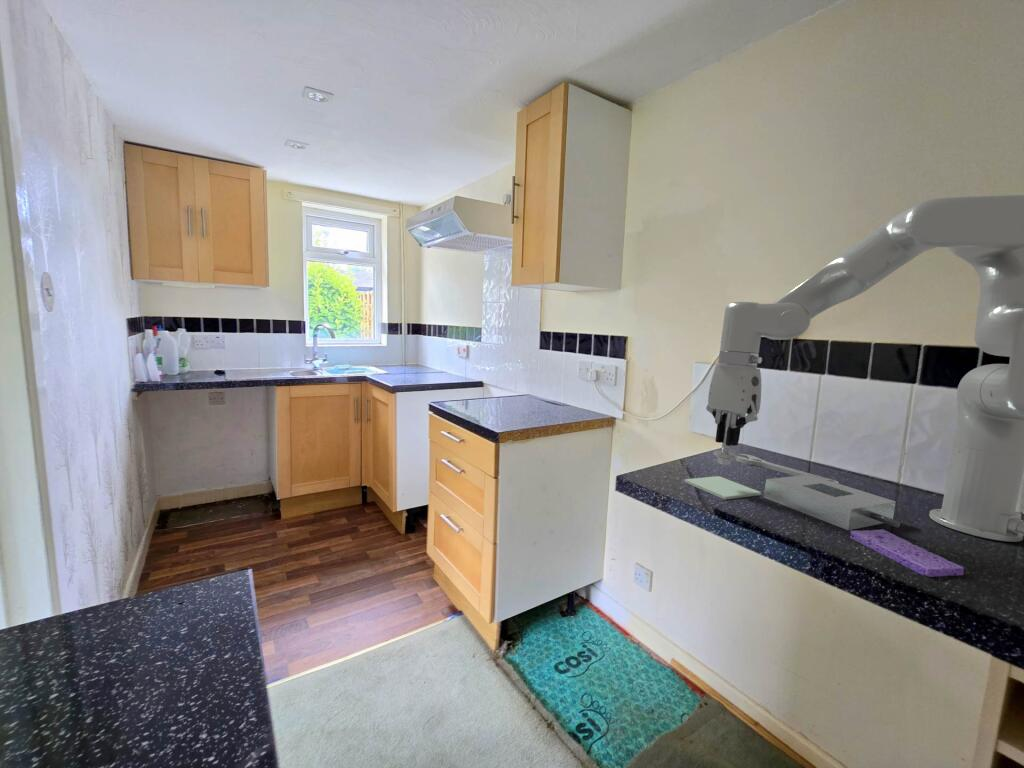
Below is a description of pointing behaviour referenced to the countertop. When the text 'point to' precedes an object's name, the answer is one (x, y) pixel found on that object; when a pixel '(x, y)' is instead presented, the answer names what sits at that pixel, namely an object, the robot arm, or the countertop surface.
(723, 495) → the rubber mat
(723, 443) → the screw
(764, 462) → the adjustable wrench
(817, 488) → the steel block
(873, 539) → the sponges
